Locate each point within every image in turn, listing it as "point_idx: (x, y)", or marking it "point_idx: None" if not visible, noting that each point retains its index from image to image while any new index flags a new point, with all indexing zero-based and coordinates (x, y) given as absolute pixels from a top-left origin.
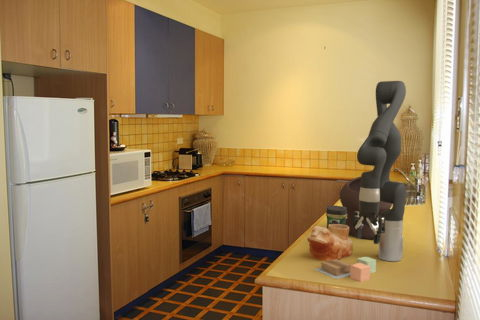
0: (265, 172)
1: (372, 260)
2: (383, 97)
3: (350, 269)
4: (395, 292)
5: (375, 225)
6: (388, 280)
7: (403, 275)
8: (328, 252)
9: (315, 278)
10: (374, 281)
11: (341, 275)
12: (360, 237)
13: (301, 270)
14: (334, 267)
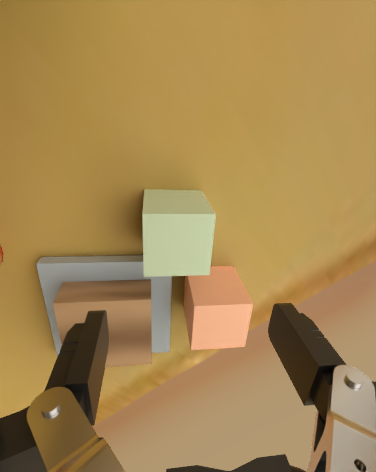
0: None
1: (209, 237)
2: None
3: (189, 335)
4: (333, 262)
5: (330, 462)
6: (269, 196)
7: (285, 79)
8: None
9: (112, 370)
10: (240, 247)
11: (155, 324)
12: (105, 321)
13: (26, 369)
14: (139, 364)
